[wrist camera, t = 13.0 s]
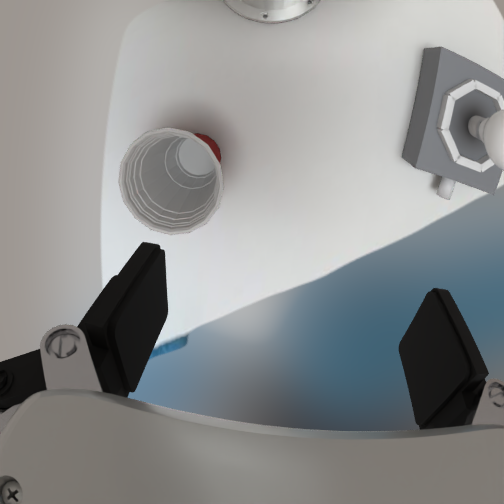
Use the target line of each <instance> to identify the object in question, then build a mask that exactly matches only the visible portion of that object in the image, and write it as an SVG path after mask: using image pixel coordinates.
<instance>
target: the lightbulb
mask: <svg viewBox="0 0 504 504" xmlns="http://www.w3.org/2000/svg"><path fill="white" fill-rule="evenodd" d="M468 129H469V132H470V134H471V135H472V136H473V137H475V138H478V139H480V140H481V141H482V142H483V143H484V145H485V149H486V151H487V154H488V156H489V157H490V159H491V160H492V162H493V163H494V164H495V165H496V166H497V167H498V168H500V169H501V170H503V171H504V110H500V111H497V112H496V113H494V114H493V115H492V116H491V117H489V118H483V117H480V116H473V117H471V118H470V120H469V123H468Z"/></svg>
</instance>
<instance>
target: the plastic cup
mask: <svg viewBox="0 0 504 504" xmlns="http://www.w3.org/2000/svg"><path fill="white" fill-rule="evenodd" d="M220 160H221V155H220V150H219V147H218V146H217V144H216V143H215V141H214V140H212V139H211V138H209V137H208V136H206V135H202V134H192V133H191V132H189V131H184V130H179V129H174V128H169V127H167V128H162V129H157V130H153V131H149V132H146V133H145V134H144V135H142V136H141V137H140V138H138V139H137V140H136V141H134V142H133V143H132V144H131V145H130V146H129V148H128V150H127V152H126V153H125V155H124V157H123V159H122V161H121V164H120V172H119V181H118V182H119V186H120V190H121V194H122V198H123V202H124V203H125V205H126V206H127V208H128V209H129V211H130V212H131V213H132V215H133V216H134V218H135V219H137V220H138V221H139V222H141V223H142V224H144V225H145V226H146V227H148V228H149V229H151V230H153V231H157V232H161V233H164V234H168V235H175V234H184V233H190V232H192V231H194V230H196V229H197V228H199V227H201V226H203V225H205V224H207V222H208V221H209V220H210V218H211V217H212V216H213V214H214V213H215V212H216V211H217V209H218V208H219V205H220V201H221V197H222V193H223V189H224V183H223V177H222V171H221V163H220Z"/></svg>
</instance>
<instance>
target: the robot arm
mask: <svg viewBox="0 0 504 504" xmlns="http://www.w3.org/2000/svg"><path fill="white" fill-rule="evenodd" d="M223 1H224V2H225V3H226V4H227V5H228V7H229V8H230V9H232V10H233V11H235V12H236V13H237V14H239V15H241V16H243V17H245V18H247V19H250V20H253V21H257V22H264V23H281V22H288V21H291V20H294V19H297V18H299V17H301V16H303V15H305V14H307V13H308V12H309V11H311V10H312V9H313V8H314V7H315V6H316V5H317V4H318V3H319V1H320V0H223ZM308 1H310V2H312V4H308V3H307V2H308ZM264 15H267V18H263V16H264ZM167 315H168V300H167V284H166V264H165V251H164V250H162V249H160V245H158V244H153V243H147V242H143V243H141V245H140V246H139V247H138V248H137V250H136V251H135V252H134V254H133V255H132V256H131V258H130V259H129V260H128V262H127V263H126V264H125V266H124V267H123V268H122V270H121V271H120V272H119V274H118V275H115V276H113V277H112V278H111V280H110V281H109V282H108V284H107V285H106V286H105V288H104V289H103V290H102V292H101V293H100V295H99V296H98V298H97V299H96V300H95V302H94V303H93V305H92V306H91V307H90V309H89V310H88V312H87V313H86V315H85V316H84V318H83V319H82V320H81V322H80V324H79V325H78V326H77V327H75V326H73V325H59V326H56V327H54V328H52V329H50V330H49V331H48V332H47V333H46V334H45V335H44V336H43V338H42V340H41V344H40V349H38V350H35V351H32V352H29V353H26V354H23V355H20V356H17V357H14V358H11V359H8V360H5V361H2V362H0V504H504V382H502V381H500V380H498V379H490V380H488V381H487V382H486V381H485V378H486V376H487V375H488V374H489V373H488V370H487V368H486V365H485V363H484V361H483V359H482V356H481V354H480V352H479V350H478V347H477V345H476V343H475V341H474V339H473V337H472V335H471V333H470V331H469V329H468V327H467V325H466V323H465V321H464V319H463V317H462V315H461V313H460V311H459V309H458V307H457V305H456V303H455V301H454V300H453V298H452V296H451V294H450V292H449V291H448V290H445V289H438V288H433V289H432V290H431V291H430V292H428V293H427V294H426V296H425V299H424V301H423V302H422V304H421V306H420V308H419V310H418V311H417V313H416V315H415V317H414V319H413V321H412V322H411V324H410V326H409V328H408V330H407V331H406V333H405V335H404V336H403V338H402V340H401V341H400V344H399V354H400V357H401V361H402V365H403V369H404V372H405V377H406V380H407V385H408V388H409V393H410V398H411V402H412V407H413V411H414V416H415V421H416V423H417V425H419V427H420V430H407V431H377V432H355V431H323V430H308V429H295V428H285V427H275V426H266V425H259V424H251V423H244V422H237V421H231V420H225V419H219V418H214V417H209V416H203V415H199V414H194V413H189V412H184V411H179V410H175V409H170V408H166V407H162V406H158V405H154V404H150V403H146V402H142V401H138V400H134V399H130V398H127V397H128V394H129V392H134V391H135V390H136V388H137V385H138V383H139V381H140V378H141V376H142V373H143V371H144V369H145V366H146V364H147V362H148V359H149V357H150V355H151V352H152V350H153V348H154V346H155V343H156V341H157V339H158V336H159V334H160V332H161V330H162V327H163V325H164V323H165V321H166V318H167Z"/></svg>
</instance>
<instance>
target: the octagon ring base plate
mask: <svg viewBox="0 0 504 504" xmlns="http://www.w3.org/2000/svg"><path fill="white" fill-rule="evenodd" d="M500 110H504V79H503V78H501V77H499V76H498V75H496V74H494V73H493V72H491V71H489V70H487V69H485V68H484V67H482V66H480V65H478V64H476V63H474V62H472V61H470V60H468V59H466V58H464V57H462V56H460V55H458V54H456V53H454V52H452V51H450V50H448V49H445V48H443V47H435V48H427V49H424V53H423V60H422V66H421V71H420V77H419V83H418V88H417V93H416V98H415V103H414V107H413V112H412V116H411V121H410V125H409V129H408V134H407V138H406V142H405V146H404V150H403V153H402V158H404V159H405V160H406V161H407V162H408V163H410V164H411V165H412V166H413V167H414V168H417V169H420V170H423V171H426V172H430V173H433V174H436V175H439V176H442V178H441V182H440V185H439V188H438V191H437V195H438V196H440V197H442V198H444V199H447V200H450V197H451V195H452V192H453V189H454V186H455V183H456V181H457V182H460V183H463V184H466V185H468V186H471V187H474V188H477V189H479V190H482V191H485V192H487V193H490V194H493V195H494V194H495V191H496V188H497V185H498V182H499V179H500V176H501V173H502V170H501V169H500V168H498V167H497V166H496V165H495V164H494V163H493V162H492V160H491V159H490V157H489V156H488V154H487V151H486V149H485V145H484V143H483V142H482V141H481V140H480V139H478V138H475V137H473V136H472V135H471V134H470V132H469V129H468V123H469V120H470V118H471V117H473V116H480V117H483V118H489V117H491V116H492V115H493V114H494V113H496V112H497V111H500Z"/></svg>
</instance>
